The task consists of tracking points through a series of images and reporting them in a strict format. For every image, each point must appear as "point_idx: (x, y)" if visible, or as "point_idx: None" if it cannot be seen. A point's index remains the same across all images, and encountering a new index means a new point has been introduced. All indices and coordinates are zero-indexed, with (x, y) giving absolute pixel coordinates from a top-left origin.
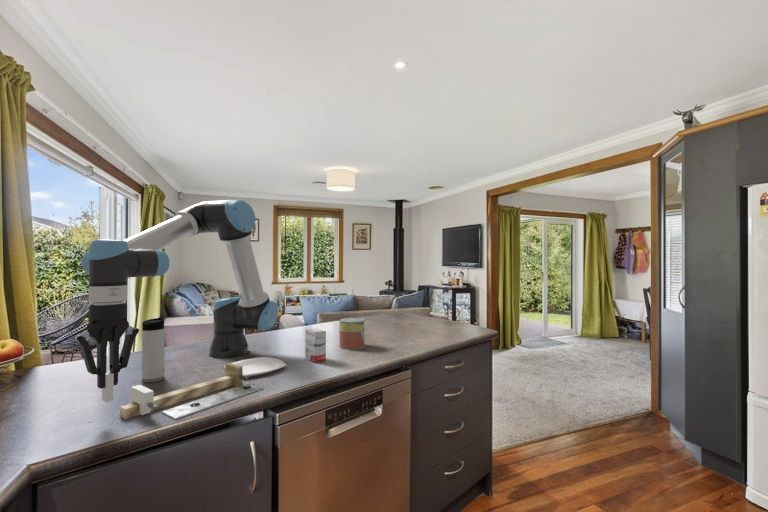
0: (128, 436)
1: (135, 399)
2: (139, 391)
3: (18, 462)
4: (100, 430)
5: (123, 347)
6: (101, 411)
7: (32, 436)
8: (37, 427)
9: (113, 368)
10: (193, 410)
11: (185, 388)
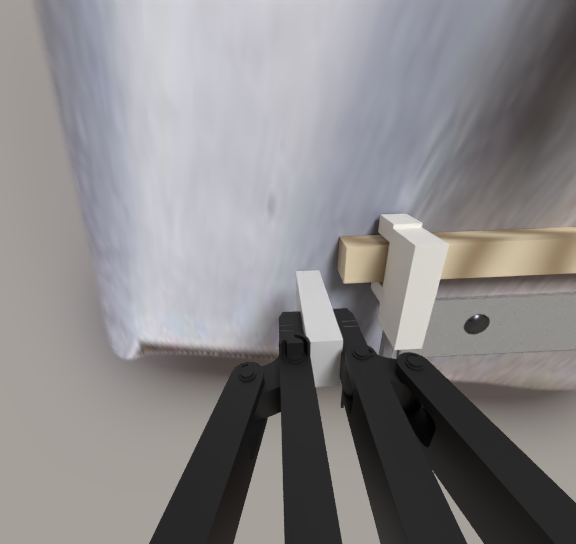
0: None
1: (390, 265)
2: (400, 313)
3: (123, 322)
4: (273, 290)
5: (509, 513)
6: (323, 131)
7: (133, 188)
8: (139, 108)
9: (346, 406)
10: (447, 349)
11: (554, 247)
